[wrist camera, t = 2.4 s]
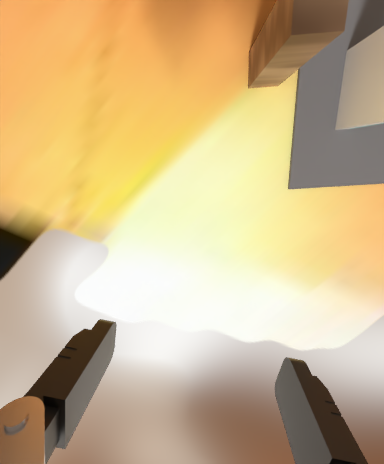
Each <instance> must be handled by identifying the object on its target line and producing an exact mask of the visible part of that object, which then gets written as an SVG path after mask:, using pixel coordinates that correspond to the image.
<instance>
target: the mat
mask: <svg viewBox="0 0 384 464" xmlns="http://www.w3.org/2000/svg"><path fill="white" fill-rule="evenodd" d="M383 26H384V0H349V2H348V9H347V17H346V24H345V31H344V32H343V33H341V34H340V35H339V36H338V37H337V38H335V39H334V40H333V41H332V42H330V43H329V44H328V45H327V46H326V47H324V48H323V49H322V50H321V51H320V52H318V53H317V54H316V55H315V56H314V57H312V58H311V59H310V60H309V61H308V62H306V63H305V64H304V65H303V66H301V67H300V68H299V69H298V81H297V92H296V104H295V115H294V127H293V138H292V150H291V161H290V173H289V184H288V189H301V188H317V187H333V186H349V185H365V184H382V183H384V123H383V124H377V125H371V126H365V127H359V128H353V129H341V130H335V127H336V121H337V114H338V107H339V100H340V93H341V87H342V80H343V73H344V66H345V59H346V53H347V50H349V49H350V48H352V47H353V46H355V45H356V44H358V43H359V42H361V41H362V40H364V39H365V38H367V37H368V36H369V35H371V34H372V33H374V32H375V31H377V30H378V29H380V28H381V27H383Z"/></svg>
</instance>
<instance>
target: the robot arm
mask: <svg viewBox="0 0 384 464" xmlns="http://www.w3.org/2000/svg"><path fill="white" fill-rule="evenodd" d="M115 335H116V322H111V321H107V320H101V319H100V320H98V322H97V323H96V324H95V326H94V327H93V328H92V330H88V329H84V330H82V331H81V332H79V333H78V334H76V335H74V336H73V337H72V338H71V340H70V341H69V342H68V343H67V345H66V346H65V348H64V349H63V350H62V351H61V352H60V354H58V357H56V358H55V359H54V360H53V362H52V363H51V364H50V365H49V367H48V368H47V369H46V370H45V372H44V373H43V374H42V375H41V376H40V378H39V379H38V380H37V381H36V383H35V384H34V385H33V386H32V387H31V389H30V390H29V391H28V392H27V393H26V395H24V397H22V398H19V399H16V400H14V401H12V402H10V403H8V404H7V405H6V406H4V407H3V408H1V409H0V464H47V462H48V460H49V458H50V456H51V455H52V452H53V451H54V449H55V447H58V448H62V449H65V448H66V446H67V444H68V442H69V441H70V439H71V437H72V435H73V433H74V431H75V429H76V427H77V425H78V423H79V421H80V419H81V417H82V415H83V414H84V412H85V409H86V408H87V406H88V404H89V402H90V400H91V398H92V396H93V394H94V392H95V390H96V388H97V386H98V384H99V382H100V381H101V379H102V377H103V375H104V373H105V371H106V369H107V367H108V365H109V363H110V361H111V358H112V355H113V352H114V346H115ZM275 395H276V399H277V403H278V406H279V410H280V413H281V416H282V420H283V423H284V426H285V429H286V433H287V437H288V440H289V443H290V447H291V450H292V454H293V457H294V460H295V464H368V463H367V461H366V459H365V457H364V456H363V454H362V452H361V450H360V448H359V446H358V444H357V443H356V441H355V439H354V437H353V435H352V433H351V432H350V430H349V428H348V426H347V424H346V422H345V420H344V419H343V417H341V413H340V412H339V409H338V408H337V406H336V405H335V402H334V400H333V399H332V397H331V395H330V393H329V391H328V389H327V388H326V387H325V386H324V385H323V383H322V382H321V381H320V380H319V379H318V378H317V376H312V374H311V372H310V370H309V368H308V366H307V364H306V363H305V362H304V361H302V360H297V359H292V358H285V359H284V361H283V364H282V366H281V369H280V372H279V374H278V377H277V380H276V383H275Z"/></svg>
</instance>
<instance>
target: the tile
mask: <svg viewBox="0 0 384 464" xmlns="http://www.w3.org/2000/svg"><path fill="white" fill-rule="evenodd" d="M383 123H384V26H383V27H381V28H380V29H378V30H377V31H375V32H374V33H372V34H371V35H369V36H368V37H367V38H365V39H364V40H362V41H361V42H359V43H358V44H356V45H355V46H353V47H352V48H350V49H349V50H347V53H346V59H345V66H344V73H343V80H342V87H341V93H340V100H339V107H338V114H337V121H336V127H335V130H341V129H353V128H359V127H365V126H371V125H377V124H383Z"/></svg>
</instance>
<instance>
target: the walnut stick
mask: <svg viewBox="0 0 384 464" xmlns="http://www.w3.org/2000/svg"><path fill="white" fill-rule="evenodd" d="M348 2H349V0H277V1H276V3H275V5H274V6H273V8H272V10H271V12H270V14H269V16H268V18H267V20H266V21H265V23H264V25H263V27H262V29H261V31H260V33H259V35H258V36H257V38H256V40H255V42H254V44H253V46H252V48H251V50H250V51H249V76H248V88H258V87H271V86H278V85H280V84H281V83H282V82H283V81H285V80H286V79H287V78H288V77H289V76H291V75H292V74H293V73H294V72H295V71H297V70H298V69H299V68H300V67H301V66H303V65H304V64H305V63H306V62H308V61H309V60H310V59H311V58H312V57H314V56H315V55H316V54H317V53H318V52H320V51H321V50H322V49H323V48H324V47H326V46H327V45H328V44H329V43H330V42H332V41H333V40H334V39H335V38H337V37H338V36H339V35H340V34H341V33H343V32H344V31H345V24H346V17H347V9H348Z"/></svg>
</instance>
